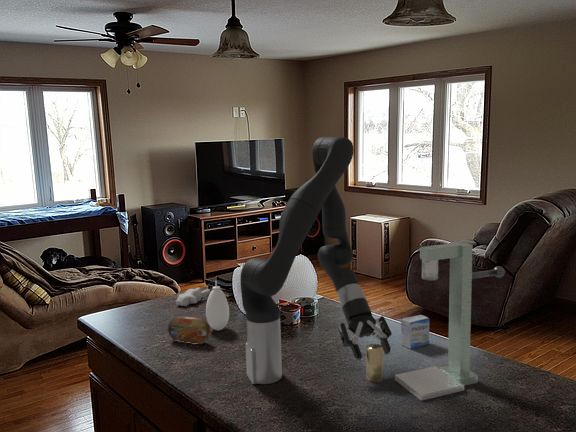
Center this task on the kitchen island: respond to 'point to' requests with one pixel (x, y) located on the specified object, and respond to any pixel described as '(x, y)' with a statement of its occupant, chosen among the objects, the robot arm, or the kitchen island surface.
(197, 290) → the bunny figurine
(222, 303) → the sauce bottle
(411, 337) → the medicine box
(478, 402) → the kitchen island surface
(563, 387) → the kitchen island surface
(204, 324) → the tin
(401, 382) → the press bed
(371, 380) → the housing
